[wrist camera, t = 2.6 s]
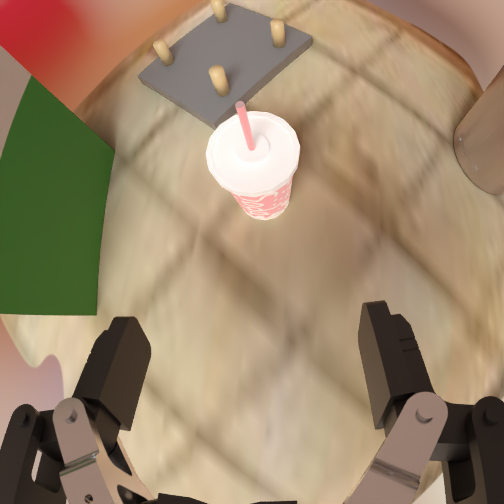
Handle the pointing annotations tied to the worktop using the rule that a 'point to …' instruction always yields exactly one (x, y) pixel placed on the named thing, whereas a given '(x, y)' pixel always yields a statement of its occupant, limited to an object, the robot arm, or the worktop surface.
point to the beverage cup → (255, 160)
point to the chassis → (223, 61)
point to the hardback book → (48, 200)
